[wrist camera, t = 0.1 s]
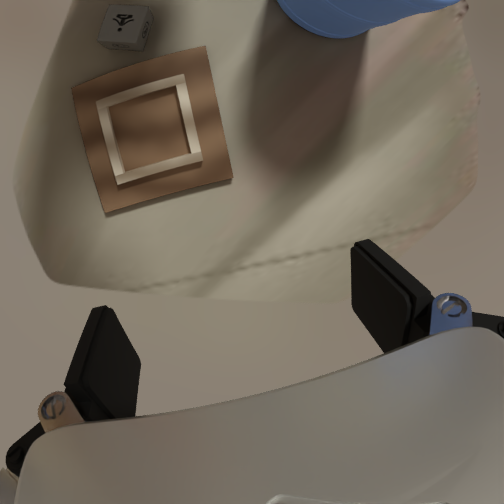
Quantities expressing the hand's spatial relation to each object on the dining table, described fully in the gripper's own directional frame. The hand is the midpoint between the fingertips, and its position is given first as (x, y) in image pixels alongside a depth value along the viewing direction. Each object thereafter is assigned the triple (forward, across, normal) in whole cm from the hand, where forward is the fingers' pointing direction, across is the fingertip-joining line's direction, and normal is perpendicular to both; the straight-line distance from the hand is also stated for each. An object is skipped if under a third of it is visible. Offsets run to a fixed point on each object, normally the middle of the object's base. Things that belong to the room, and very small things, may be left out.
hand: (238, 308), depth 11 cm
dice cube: (+31, +6, -21) cm, 38 cm away
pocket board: (+31, +6, -7) cm, 32 cm away
